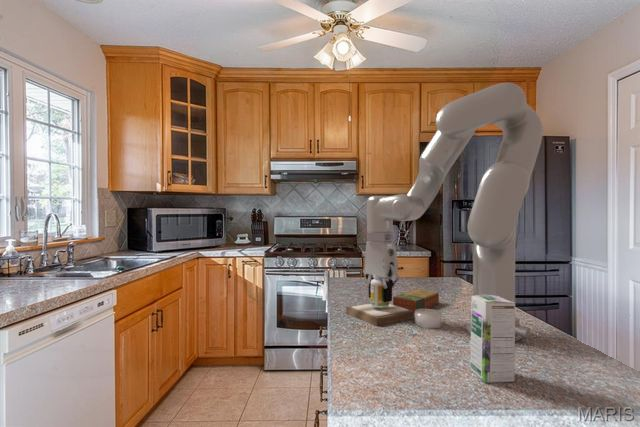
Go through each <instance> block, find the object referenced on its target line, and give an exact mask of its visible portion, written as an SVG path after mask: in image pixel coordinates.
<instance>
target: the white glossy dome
mask: <svg viewBox="0 0 640 427" xmlns="http://www.w3.org/2000/svg"><path fill="white" fill-rule="evenodd" d="M442 321H443V320H442V312H441V311H440V310H438V309H433V308H426V309H417V310H415V313H414V325H415V326H417V327H419V328H424V329H440V328H441V327H442Z"/></svg>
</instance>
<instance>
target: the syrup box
mask: <svg viewBox="0 0 640 427" xmlns="http://www.w3.org/2000/svg"><path fill="white" fill-rule="evenodd" d="M470 298H471V304H470V308H471V309H470V310H471V311H470V318H471V320H470V323H471V334H470V371H471V372H473V373H474V374H475V375H476V376H477V377H478V378H479V379H480V380H482V381H483V383H485V384H488V383H489V384H493V383H495V384H496V383H510V382H511V383H512V382H513V383H514V382H515V370H516V369H515V364H516V363H515V362H516V361H515V360H516V359H515V358H516V346H515V345H516V341H515V318H516V301H515V302H511V301H508V300H506V299H504V298H501V297H499V296H494V295H475V296H473V295H471V297H470Z"/></svg>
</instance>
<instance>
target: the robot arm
mask: <svg viewBox="0 0 640 427" xmlns="http://www.w3.org/2000/svg"><path fill="white" fill-rule="evenodd" d="M436 114H437V115H436V117H435V126H436V128H437V130H436V132H435V133H434V135H433V136H432V137H431V139H430V141H429V142H428V143H427V145H426V147H425V148H424V150H423V152H422V153H421V154H420V157H419V160H418V175H417V177H416V179H415V181H414V183H413V185H412V186H411V188H410V190H408V193H407V194H405V193H403V194H402V193H399V194H394V195H389V196H387V195H372V196H369V197H368V198H367V200H366V244H365V245H366V246H365V252H364V254H365V255H364V267H363V269H362V273H363V274H364V276H365V278H366V280H367V281H366V283H367V285H368V298H370V299H371V280H373V279H374V278H373V275H374V274H375V275H376V276H378V277H381V278H382V281H383V285H384V288H382V301H383V302H389V303H390V302H393V288H394V285H395V284H396V283H397V282H398V281H399V279H400V275H399V270H398V269H399V267H398V266H399V265H398V264H399V263H398V253H397V248H396V243H395V242H394V224H393V223H394V221H398V222H407V221H409V222H410V221H411V222H412V221H416V220H418V219H420V218H421V217H422V216H423V215H424V214H425V212H426V211H427V209H429V207H430V205H431V204H432V203H433V201H434V199H435V198H436V197H437V194H438V193H439V191H440V189H441V187H442V184H443V183H444V181H445V179H446V177H447V174H448V173H449V171H450V170H451V168H452V167H453V165H454V164H455V162H456V160H458V158H459V156H460V155H461V154H462V152H463V151H464V149H465V147H466V146H467V144H468V143H469V142H470V140H471V139H472V137H473V136H474V134H475V132H476V130H477V129H481V128H483V127H486V126H489V125H492V124H493V125H494V126H496V127H497V128H499V129H500V130H501V131H502V140H501V142H500V144H499V147H498V152H497V156H496V158H495V162H494V164H492V165H491V166H489V168H487V169H486V171H485V172H484V173H483V175H482V178H481V179H480V183H479V185H478V188H477V193H476V195H475V198H474V201H473V205H472V207H471V209H470V213H469V216H468V220H467V226H466V228H467V233H468V236H469V238H470V239H471V241H472V242H473V250H472V252H473V254H472V296H475V295H494V296H499V297H501V298H504V299H506V300H508V301H511V302H515V303H516V245H517V244H516V242H517V240H516V239H517V229H516V223H517V219H518V216H519V214H520V211H521V209H522V208H521V207H522V204H523V202H524V199H525V196H526V194H527V193H528V192H529V188H530V182H531V177H532V173H533V170H534V168H535V165H536V161H537V157H538V155H539V151H540V148H541V144H542V141H543V132H544V131H543V130H544V129H543V124H542V121H541V118H540V116H539V115H538V113H537V112H536V111H535V110H534V109H533V108H532V107H531V105H529V104H528V103H527V98H526V94H525V91H524V90H523V89H522V87H521V86H519V85H518V84H516V83H513V82H500V83H497V84H494V85H491V86H487V87H486V88H483V89H480V90H479V91H478V90H477V91H476V92H473V93H470V94H467V95H465V96H463V97H460V98H458V99H454V100H452V101H450V102H448V103H446V104H445V105H444V106H442V107H441V109H440V110H439V111H438V113H436ZM387 280H388V282H387ZM466 332H467V333H468V334H469V335H471V322H469V323H468V324H466ZM530 336H531V328H530V326H529V327H528V326H524V325H521V324H520V318H518V317H515V342H518V341H520V340H521V339H522V338H523V337H524V338H526V339H527V338H528V339H529V338H530Z"/></svg>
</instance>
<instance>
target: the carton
mask: <svg viewBox="0 0 640 427" xmlns="http://www.w3.org/2000/svg"><path fill="white" fill-rule="evenodd" d="M439 296H440V294H439V292H438V291H433V290H426V289H419V288H416V289H413V290H410V291H407V292H403V293H401V294H397V295H394V296H392V304H393V305H396V306H399V307H402V308H405V309H409V310H412V311H414V314H415V310H417V309H430V308H431V307H434V306H436V305H438V304H440V299H439V298H440V297H439Z"/></svg>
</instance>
